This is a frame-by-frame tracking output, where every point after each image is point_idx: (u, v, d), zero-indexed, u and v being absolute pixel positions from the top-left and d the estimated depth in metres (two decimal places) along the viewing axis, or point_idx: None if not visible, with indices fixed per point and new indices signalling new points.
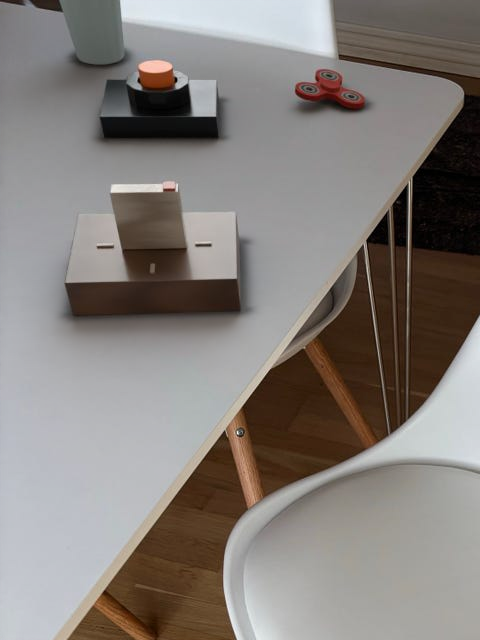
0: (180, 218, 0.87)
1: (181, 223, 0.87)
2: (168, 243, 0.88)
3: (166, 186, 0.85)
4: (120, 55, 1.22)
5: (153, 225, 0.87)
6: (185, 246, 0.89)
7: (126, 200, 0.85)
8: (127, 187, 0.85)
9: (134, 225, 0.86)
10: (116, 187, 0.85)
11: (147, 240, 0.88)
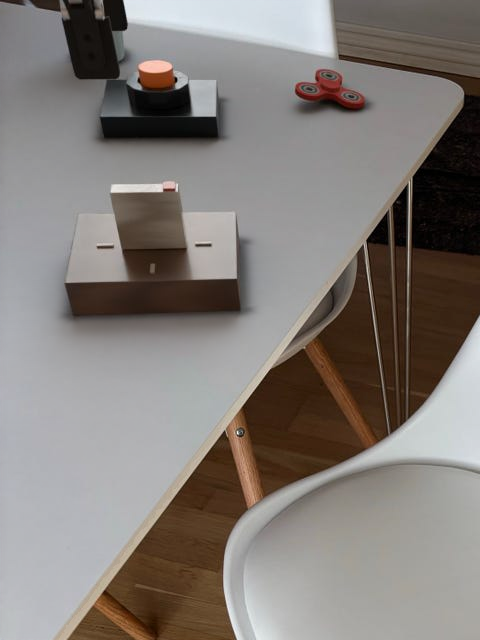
0: (180, 218, 0.87)
1: (181, 223, 0.87)
2: (168, 243, 0.88)
3: (166, 186, 0.85)
4: (120, 55, 1.22)
5: (153, 225, 0.87)
6: (185, 246, 0.89)
7: (126, 200, 0.85)
8: (127, 187, 0.85)
9: (134, 225, 0.86)
10: (116, 187, 0.85)
11: (147, 240, 0.88)
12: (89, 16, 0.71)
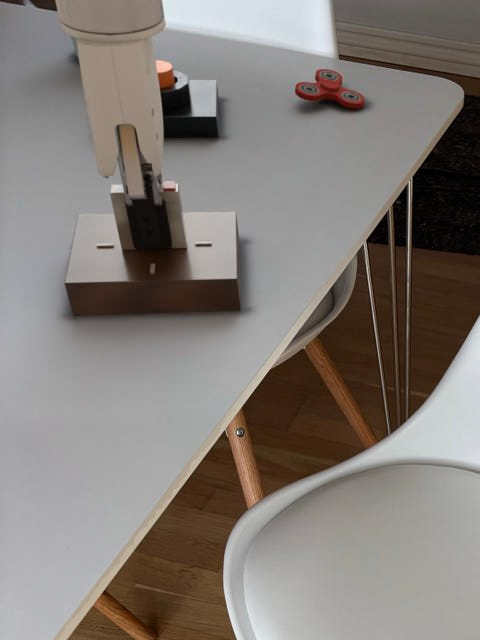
0: (180, 218, 0.87)
1: (181, 223, 0.87)
2: None
3: (166, 186, 0.85)
4: None
5: None
6: (185, 246, 0.89)
7: None
8: None
9: None
10: (116, 187, 0.85)
11: None
12: (149, 204, 0.84)
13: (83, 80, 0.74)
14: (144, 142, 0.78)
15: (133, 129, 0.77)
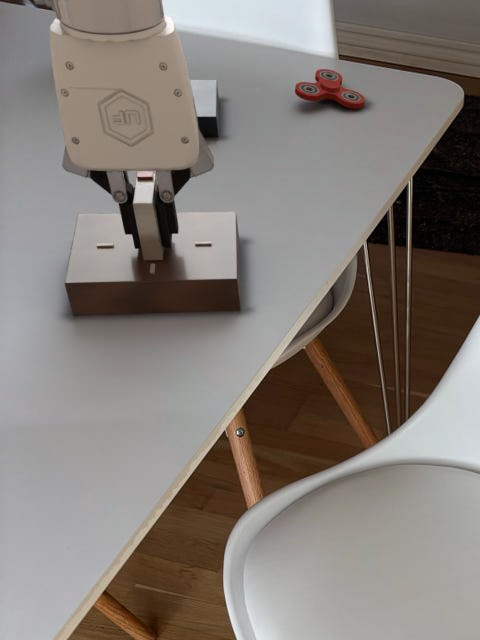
0: None
1: None
2: None
3: (148, 175, 0.86)
4: None
5: None
6: None
7: (154, 204, 0.85)
8: (142, 195, 0.84)
9: None
10: (141, 200, 0.84)
11: None
12: None
13: (176, 71, 0.77)
14: (195, 109, 0.82)
15: None
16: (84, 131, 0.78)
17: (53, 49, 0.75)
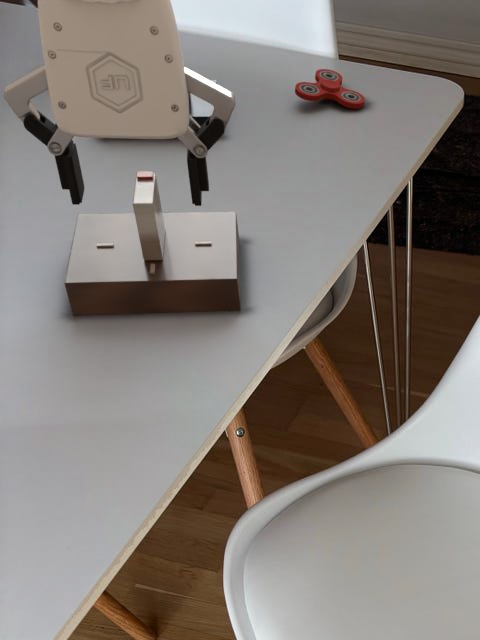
0: None
1: (160, 204, 0.89)
2: (163, 231, 0.89)
3: (148, 175, 0.86)
4: None
5: (160, 219, 0.88)
6: (164, 227, 0.90)
7: (154, 204, 0.85)
8: (142, 195, 0.84)
9: (159, 227, 0.86)
10: (141, 200, 0.84)
11: (162, 238, 0.88)
12: None
13: (167, 35, 0.75)
14: None
15: None
16: (71, 95, 0.77)
17: (41, 9, 0.73)
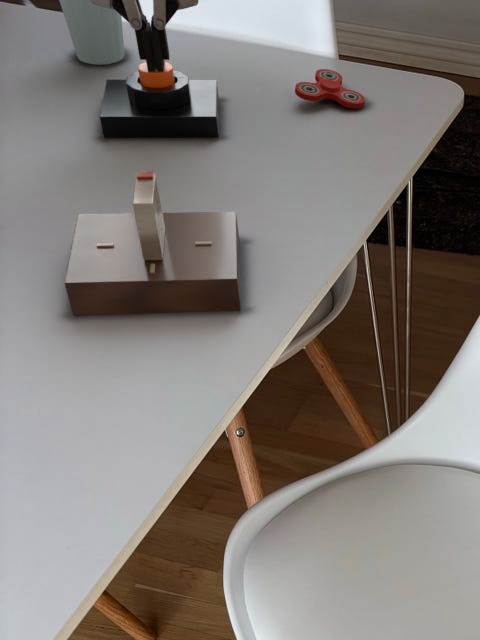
0: None
1: (160, 204, 0.89)
2: (163, 231, 0.89)
3: (148, 175, 0.86)
4: (120, 55, 1.22)
5: (160, 219, 0.88)
6: (164, 227, 0.90)
7: (154, 204, 0.85)
8: (142, 195, 0.84)
9: (159, 227, 0.86)
10: (141, 200, 0.84)
11: (162, 238, 0.88)
12: None
13: None
14: None
15: None
16: None
17: None
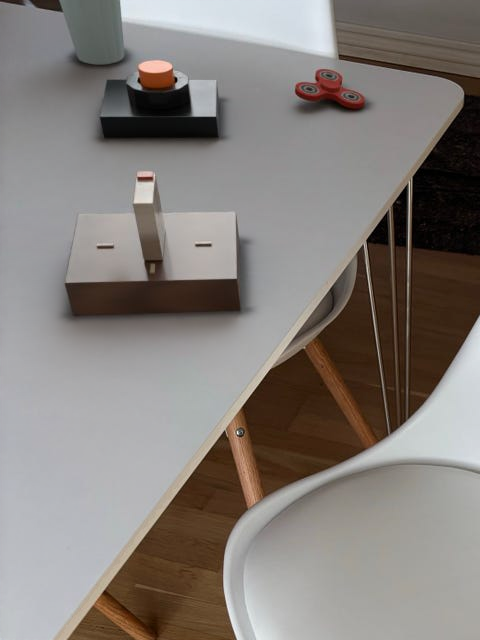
0: None
1: (160, 204, 0.89)
2: (163, 231, 0.89)
3: (148, 175, 0.86)
4: (120, 55, 1.22)
5: (160, 219, 0.88)
6: (164, 227, 0.90)
7: (154, 204, 0.85)
8: (142, 195, 0.84)
9: (159, 227, 0.86)
10: (141, 200, 0.84)
11: (162, 238, 0.88)
12: None
13: None
14: None
15: None
16: None
17: None
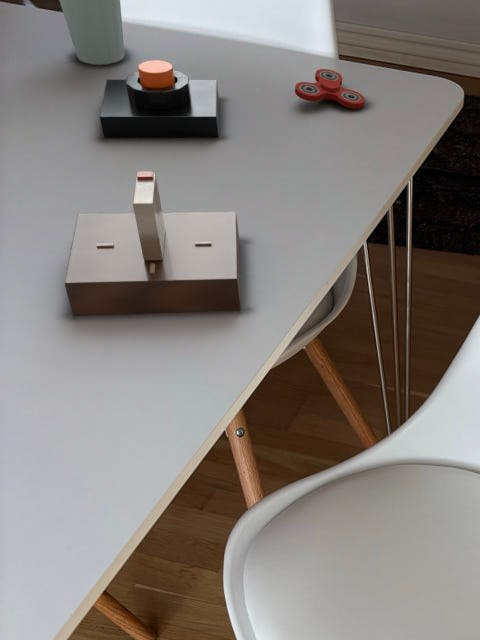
0: None
1: (160, 204, 0.89)
2: (163, 231, 0.89)
3: (148, 175, 0.86)
4: (120, 55, 1.22)
5: (160, 219, 0.88)
6: (164, 227, 0.90)
7: (154, 204, 0.85)
8: (142, 195, 0.84)
9: (159, 227, 0.86)
10: (141, 200, 0.84)
11: (162, 238, 0.88)
12: None
13: None
14: None
15: None
16: None
17: None
